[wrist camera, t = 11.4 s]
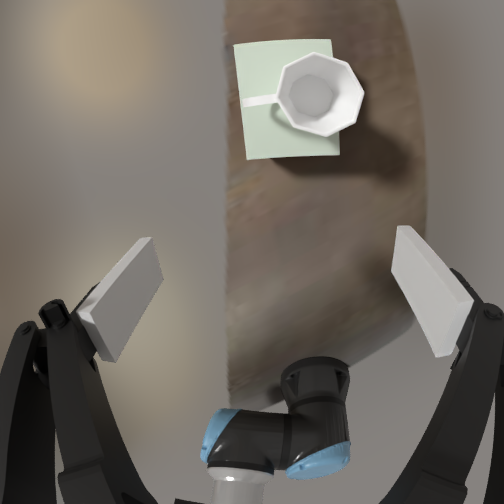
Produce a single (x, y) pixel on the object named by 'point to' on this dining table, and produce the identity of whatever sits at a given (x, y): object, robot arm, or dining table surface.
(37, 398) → the robot arm
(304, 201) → the dining table surface
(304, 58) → the cup
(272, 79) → the top block
